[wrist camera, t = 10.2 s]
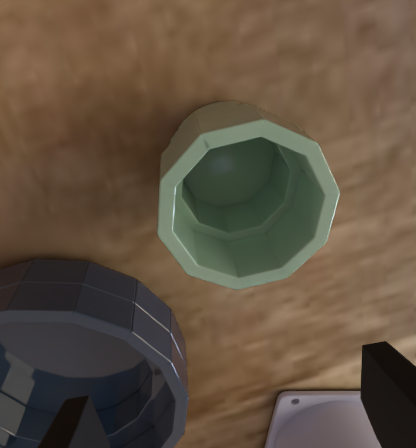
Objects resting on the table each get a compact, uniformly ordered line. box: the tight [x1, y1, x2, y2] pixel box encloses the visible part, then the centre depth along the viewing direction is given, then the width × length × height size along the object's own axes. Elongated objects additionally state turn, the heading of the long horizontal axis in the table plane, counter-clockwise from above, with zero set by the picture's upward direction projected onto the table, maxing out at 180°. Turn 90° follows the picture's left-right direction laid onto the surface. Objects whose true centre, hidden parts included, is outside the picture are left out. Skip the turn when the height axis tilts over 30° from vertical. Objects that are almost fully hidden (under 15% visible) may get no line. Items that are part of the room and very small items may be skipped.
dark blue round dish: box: [0, 259, 189, 448], centre depth 19 cm, size 12×12×4 cm
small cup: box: [157, 101, 340, 290], centre depth 15 cm, size 6×6×6 cm
